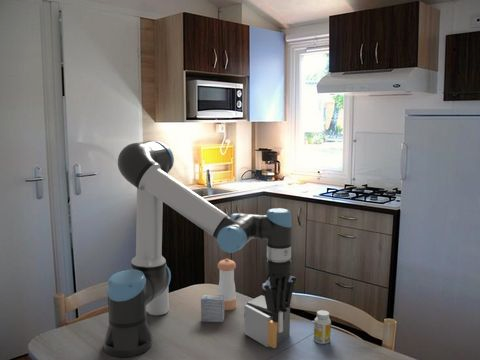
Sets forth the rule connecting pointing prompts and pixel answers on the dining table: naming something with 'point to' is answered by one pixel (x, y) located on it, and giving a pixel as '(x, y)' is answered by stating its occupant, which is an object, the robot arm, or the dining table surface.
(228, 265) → the pepper shaker
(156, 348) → the dining table surface
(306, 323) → the dining table surface
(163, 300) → the pill bottle
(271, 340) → the side door
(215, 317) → the medicine box
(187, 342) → the dining table surface
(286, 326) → the grey cabinet
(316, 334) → the supplement bottle
